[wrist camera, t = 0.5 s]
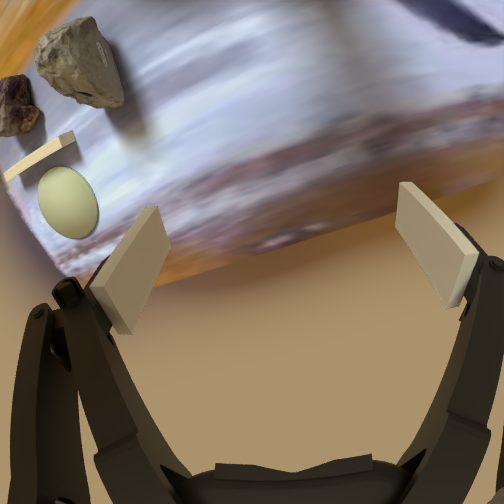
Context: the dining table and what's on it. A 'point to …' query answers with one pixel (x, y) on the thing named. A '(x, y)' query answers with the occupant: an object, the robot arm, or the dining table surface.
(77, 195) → the felt pad
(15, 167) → the rail
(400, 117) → the dining table surface
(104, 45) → the decorative rock
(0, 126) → the rock
